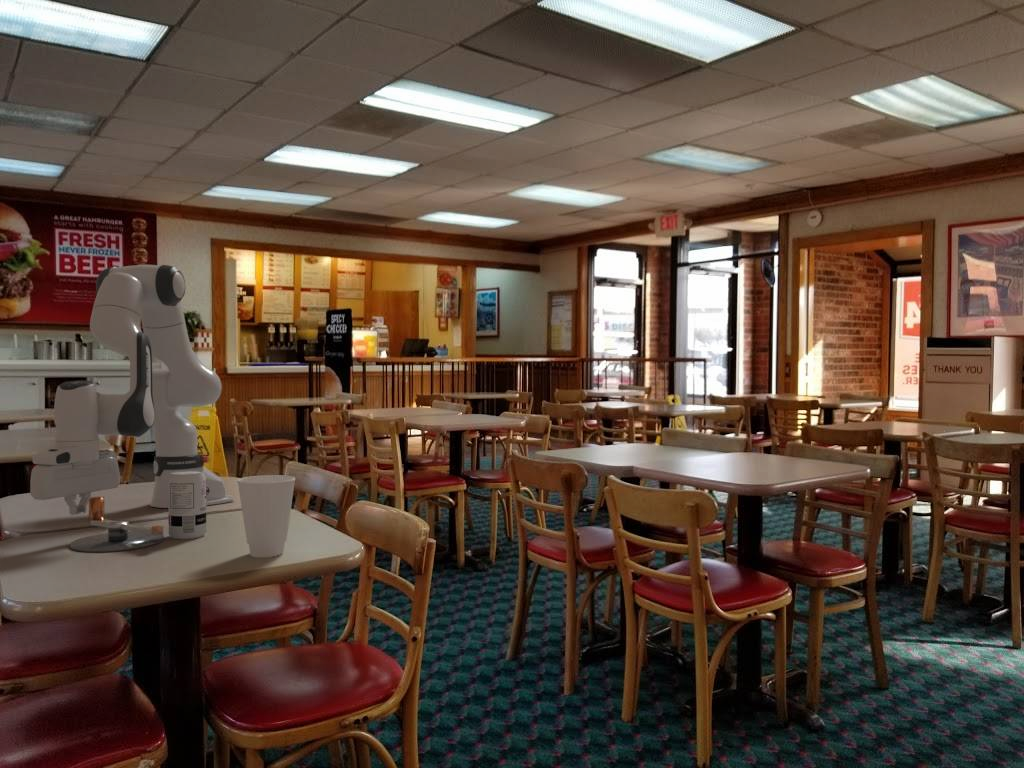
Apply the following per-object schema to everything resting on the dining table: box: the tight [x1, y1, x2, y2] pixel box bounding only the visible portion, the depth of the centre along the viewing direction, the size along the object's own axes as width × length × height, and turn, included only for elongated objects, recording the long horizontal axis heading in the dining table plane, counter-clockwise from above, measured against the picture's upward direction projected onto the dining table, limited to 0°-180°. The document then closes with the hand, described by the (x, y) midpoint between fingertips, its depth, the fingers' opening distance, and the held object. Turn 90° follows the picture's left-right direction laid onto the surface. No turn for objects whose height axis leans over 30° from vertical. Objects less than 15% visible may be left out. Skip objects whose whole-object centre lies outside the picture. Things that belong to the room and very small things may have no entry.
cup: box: [237, 474, 296, 558], centre depth 172 cm, size 12×12×16 cm
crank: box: [88, 496, 164, 536], centre depth 181 cm, size 25×4×6 cm, turn 59°
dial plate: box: [69, 529, 165, 553], centre depth 183 cm, size 19×19×3 cm
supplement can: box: [167, 471, 207, 540], centre depth 189 cm, size 8×8×15 cm
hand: (78, 513), depth 183 cm, fingers closed
